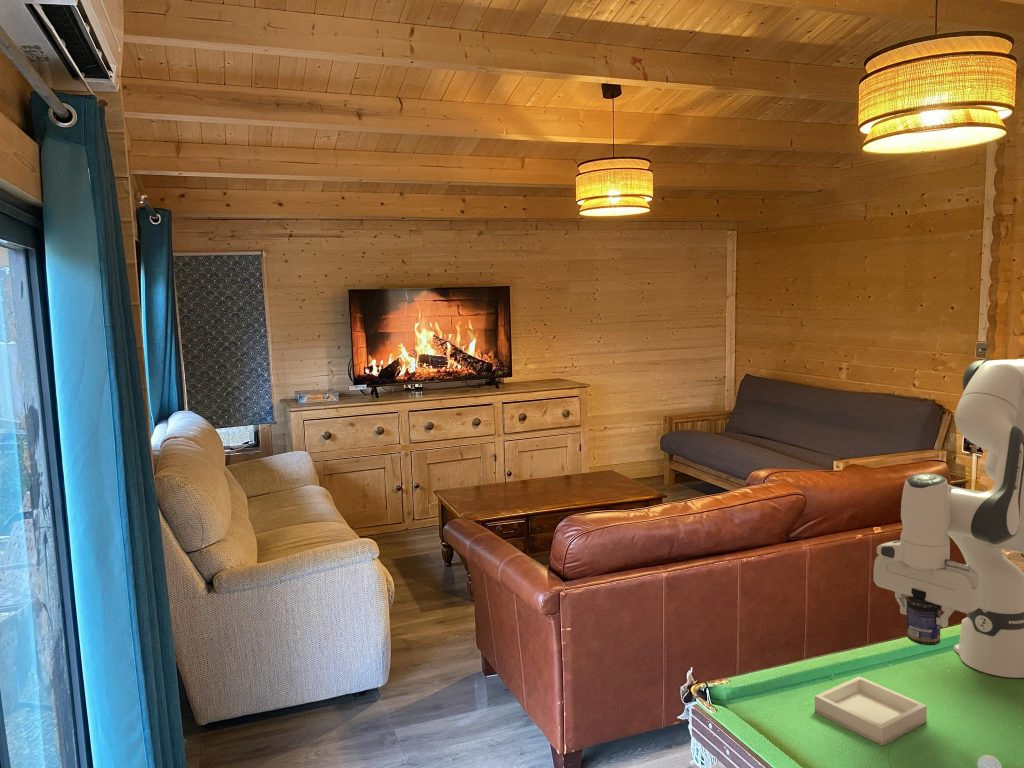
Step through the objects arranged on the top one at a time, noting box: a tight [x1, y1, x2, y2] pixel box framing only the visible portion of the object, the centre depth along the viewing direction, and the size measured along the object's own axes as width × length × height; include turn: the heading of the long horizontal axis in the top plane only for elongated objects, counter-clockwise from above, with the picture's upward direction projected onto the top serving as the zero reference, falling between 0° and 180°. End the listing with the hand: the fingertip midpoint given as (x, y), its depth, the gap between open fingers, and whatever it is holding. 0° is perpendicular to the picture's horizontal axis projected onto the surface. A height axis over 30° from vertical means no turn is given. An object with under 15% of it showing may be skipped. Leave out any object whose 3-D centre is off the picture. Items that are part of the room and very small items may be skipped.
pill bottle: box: [906, 588, 942, 646], centre depth 151 cm, size 6×6×11 cm
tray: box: [814, 675, 928, 746], centre depth 151 cm, size 15×15×4 cm
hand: (923, 619), depth 151 cm, fingers closed on pill bottle, 6 cm apart
